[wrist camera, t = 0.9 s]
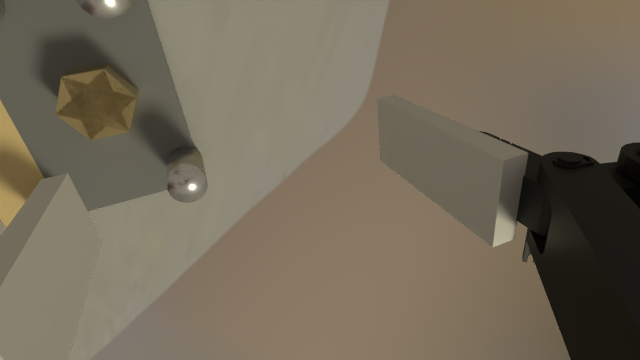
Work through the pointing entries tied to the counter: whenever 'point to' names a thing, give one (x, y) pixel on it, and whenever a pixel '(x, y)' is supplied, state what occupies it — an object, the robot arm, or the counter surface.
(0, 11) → the spacer
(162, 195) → the counter surface
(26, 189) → the mat
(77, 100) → the tan faceted flat piece
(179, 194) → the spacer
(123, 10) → the ball
